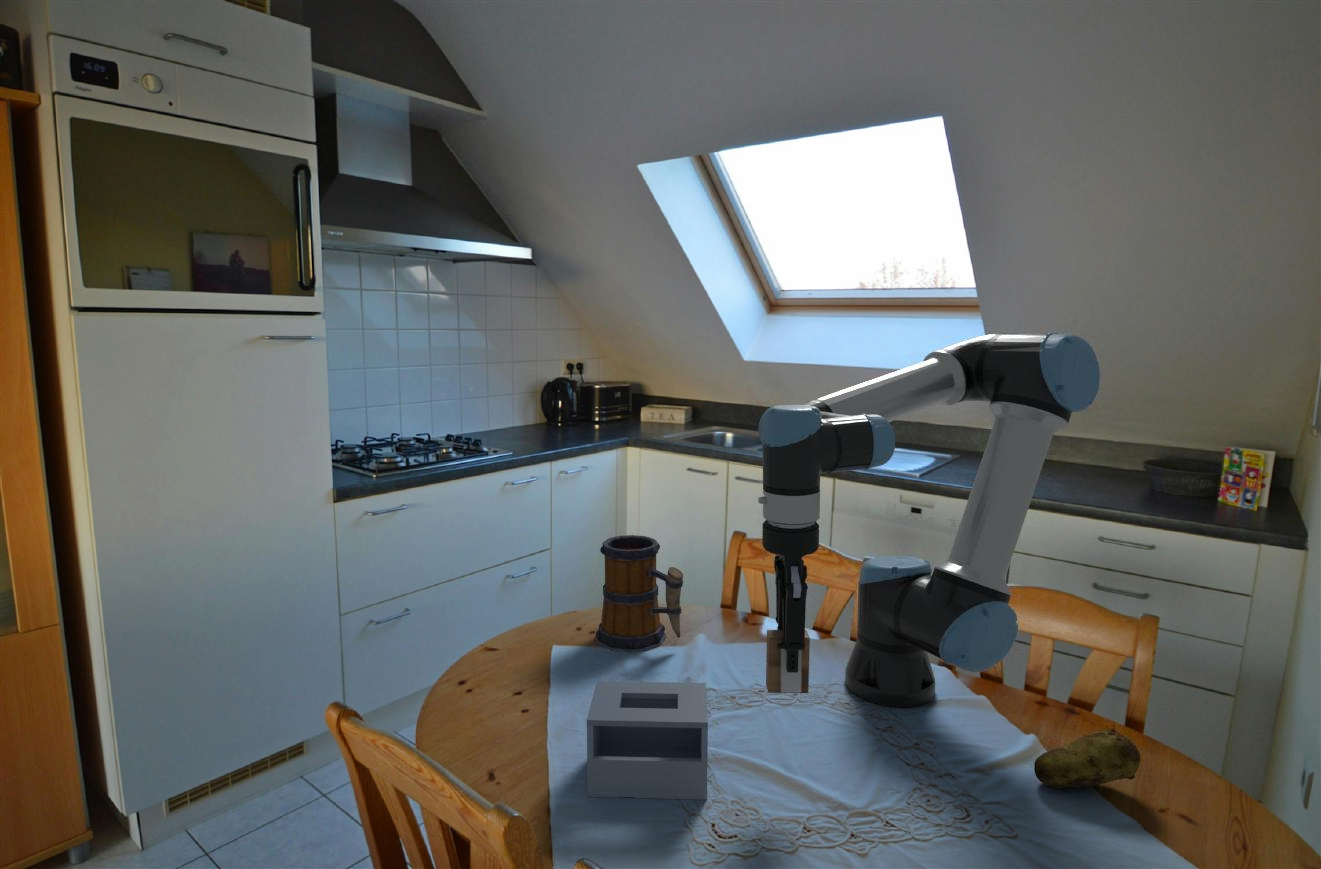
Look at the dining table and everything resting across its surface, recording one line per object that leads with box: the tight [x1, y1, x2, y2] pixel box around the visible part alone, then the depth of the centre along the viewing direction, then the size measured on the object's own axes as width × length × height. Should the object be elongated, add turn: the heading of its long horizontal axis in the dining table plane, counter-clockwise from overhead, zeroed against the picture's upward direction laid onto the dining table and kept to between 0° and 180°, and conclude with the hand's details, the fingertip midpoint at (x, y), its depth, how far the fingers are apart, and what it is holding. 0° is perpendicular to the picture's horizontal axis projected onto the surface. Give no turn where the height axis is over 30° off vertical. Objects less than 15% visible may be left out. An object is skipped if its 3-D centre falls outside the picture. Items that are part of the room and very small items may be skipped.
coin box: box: [586, 680, 709, 800], centre depth 103 cm, size 16×11×11 cm
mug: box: [595, 534, 684, 654], centre depth 148 cm, size 19×14×20 cm
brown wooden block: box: [765, 629, 811, 694], centre depth 102 cm, size 6×3×8 cm, turn 88°
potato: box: [1033, 729, 1141, 789], centre depth 101 cm, size 8×13×8 cm, turn 69°
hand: (789, 684), depth 102 cm, fingers closed on brown wooden block, 3 cm apart
